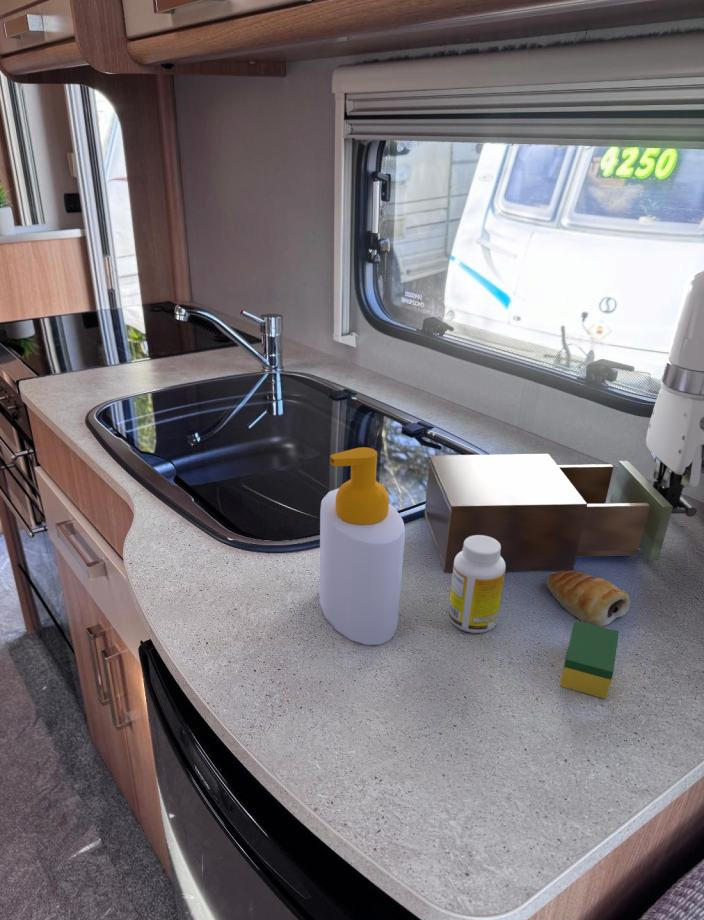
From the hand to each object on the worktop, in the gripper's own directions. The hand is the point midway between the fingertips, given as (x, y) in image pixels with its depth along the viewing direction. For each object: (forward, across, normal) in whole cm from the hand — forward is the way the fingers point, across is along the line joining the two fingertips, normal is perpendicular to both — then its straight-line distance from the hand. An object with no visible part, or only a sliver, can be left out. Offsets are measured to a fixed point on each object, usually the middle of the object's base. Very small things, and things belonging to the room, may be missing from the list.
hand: (661, 509), depth 97 cm
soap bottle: (+5, -15, +42) cm, 45 cm away
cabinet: (+4, 0, +22) cm, 23 cm away
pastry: (+5, -15, +15) cm, 22 cm away
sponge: (+4, -26, +19) cm, 32 cm away
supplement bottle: (+5, -17, +29) cm, 34 cm away
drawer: (+4, 0, +8) cm, 8 cm away
